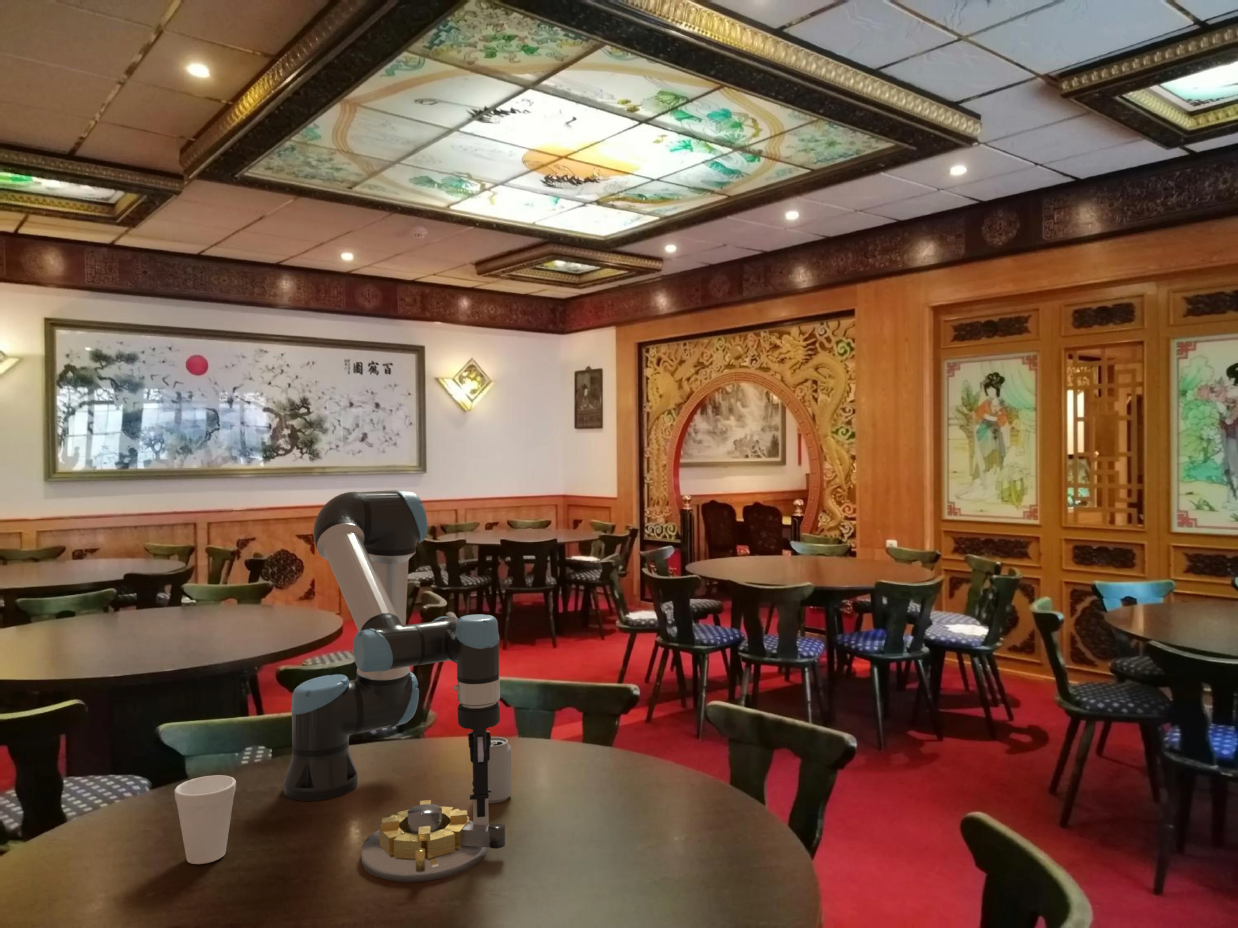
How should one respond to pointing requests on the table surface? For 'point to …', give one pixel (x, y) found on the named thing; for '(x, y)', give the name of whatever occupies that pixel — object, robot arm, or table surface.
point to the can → (499, 770)
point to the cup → (205, 816)
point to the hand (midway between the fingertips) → (481, 831)
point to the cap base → (408, 865)
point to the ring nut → (437, 834)
